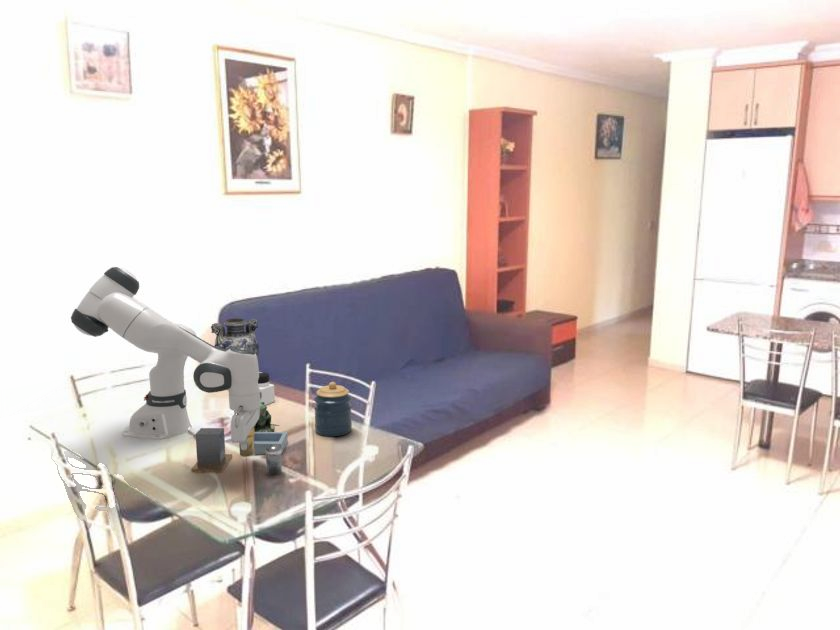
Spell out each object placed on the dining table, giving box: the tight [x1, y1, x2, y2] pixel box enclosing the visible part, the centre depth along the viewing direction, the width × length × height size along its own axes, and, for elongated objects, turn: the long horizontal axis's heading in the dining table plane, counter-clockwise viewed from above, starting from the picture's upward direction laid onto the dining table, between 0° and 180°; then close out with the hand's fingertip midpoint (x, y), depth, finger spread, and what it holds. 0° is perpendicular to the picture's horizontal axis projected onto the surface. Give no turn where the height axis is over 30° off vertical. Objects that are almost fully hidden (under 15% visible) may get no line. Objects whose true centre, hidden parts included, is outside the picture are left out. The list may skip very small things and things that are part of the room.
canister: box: [313, 381, 353, 437], centre depth 221 cm, size 13×13×18 cm
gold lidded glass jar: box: [239, 427, 256, 458], centre depth 189 cm, size 5×5×8 cm
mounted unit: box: [190, 427, 233, 473], centre depth 193 cm, size 9×11×11 cm
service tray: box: [254, 431, 289, 455], centre depth 206 cm, size 12×10×4 cm
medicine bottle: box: [258, 371, 276, 406], centre depth 250 cm, size 7×7×12 cm
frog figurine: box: [254, 401, 280, 432], centre depth 219 cm, size 18×18×12 cm
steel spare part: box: [265, 444, 283, 476], centre depth 188 cm, size 5×5×8 cm
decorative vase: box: [210, 318, 260, 360], centre depth 275 cm, size 21×19×28 cm
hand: (246, 445), depth 189 cm, fingers closed on gold lidded glass jar, 4 cm apart
